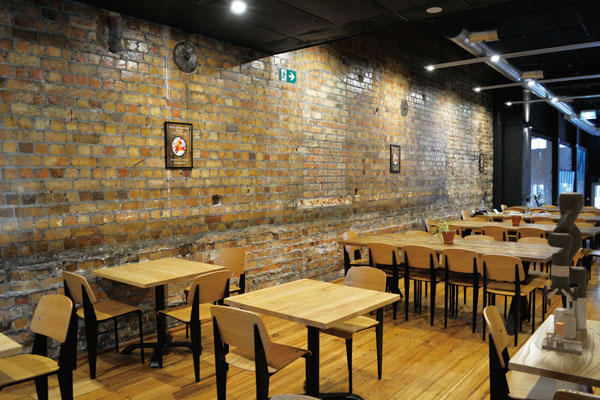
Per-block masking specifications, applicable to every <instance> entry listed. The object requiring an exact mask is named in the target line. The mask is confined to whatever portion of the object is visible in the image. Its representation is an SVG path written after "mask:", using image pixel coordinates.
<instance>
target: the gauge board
mask: <svg viewBox="0 0 600 400" xmlns="http://www.w3.org/2000/svg"><path fill="white" fill-rule="evenodd" d="M541 349H545V350H550V351H557V352H563V353H569V354H574V355H581V356H583V343H581V341H576V340H570V339H564V343H563V344H560V345H558V343H556V337H555V331H554V330H551V329H547V330H546V336H545V337H543V339H542V343H541Z"/></svg>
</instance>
